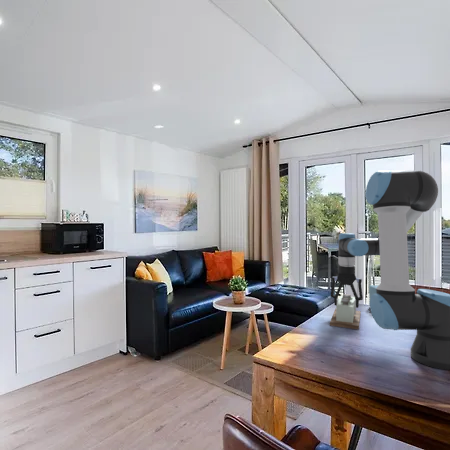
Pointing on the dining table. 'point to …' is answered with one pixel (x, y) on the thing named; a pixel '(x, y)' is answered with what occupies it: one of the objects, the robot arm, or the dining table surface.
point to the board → (346, 324)
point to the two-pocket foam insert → (345, 310)
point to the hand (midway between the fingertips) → (346, 313)
